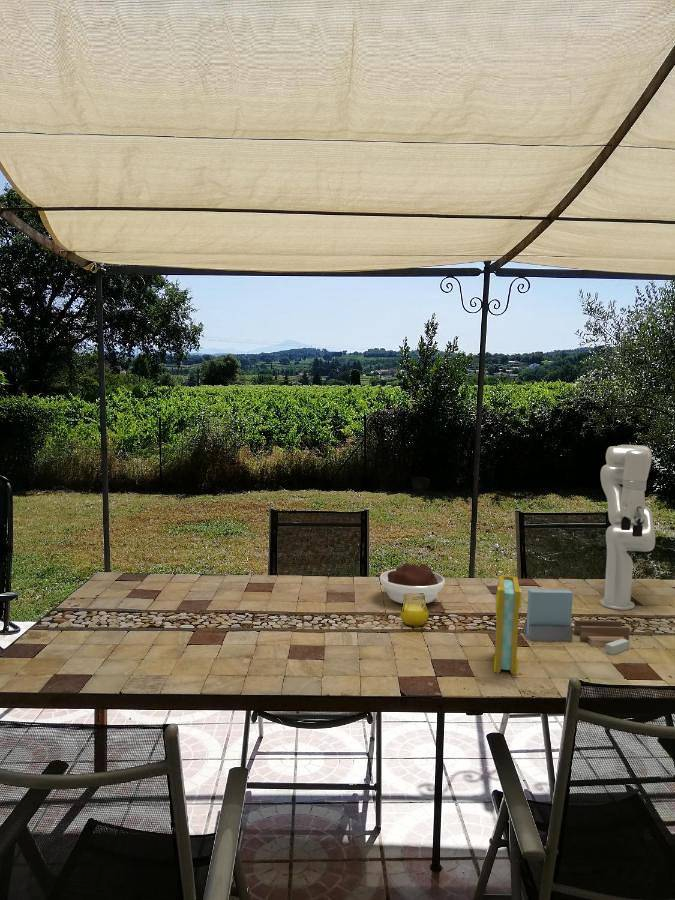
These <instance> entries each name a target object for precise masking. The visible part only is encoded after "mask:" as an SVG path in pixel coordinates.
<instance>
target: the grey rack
mask: <svg viewBox="0 0 675 900" xmlns="http://www.w3.org/2000/svg"><path fill="white" fill-rule="evenodd" d="M526 626H527V618H525V619H524V631H523V632H524V635H526ZM573 633H574V626H572V625H571V626H548V625H530V634H529V639H528V640H529V641H530V642H532V640H533V642H569V643H570V642H573Z"/></svg>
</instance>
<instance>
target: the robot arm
mask: <svg viewBox="0 0 675 900" xmlns="http://www.w3.org/2000/svg"><path fill="white" fill-rule="evenodd" d="M652 459H653V455H652V451H651V449H650V447H648V446H646V445H636V444H635V445H633V444H620V445H617V446H616V445H614V446H613V445H612V446H609V447H608V448H607V449H606V452H605V461H606V464H604V465H603V466H602V467H601V469H600V482H601V488H602V489H603V492H604V494H605V497H606V500H607V513H608V514H607V515H608V521H609V523H610V525H609V526H608V527H607V529H606V530H605V541H606V543H605V544H606V565H605V579H604V580H605V581H604V582H605V583H604V593H603V594H604V595H603V596H604V597H602V598H600V599H599V604H600V605H601V606H603V607H605V608H607V609H613V610H620V611H625V610H626V611H630V610H633V609H634V608H635V605H636V604H635V603H634V602H633V601H631V600H632V599H631V598H632V585H633V571H634V569H633V568H634V563H633V559H632V557H631V556H630V555H629V553H627V552H628V551H633V552H651V551H653V550H654V549H655V546H656V536H655V534H656V533H655V526H654V525H655V524H654V517H653V512H652V509H651V508H650V506H647V505H646V504H645V503H646V502H645V501H646V500H645V499H646V497H645V491H646V490H647V480H648V478H649V473H650V470H651V466H652V462H653V461H652ZM621 485H622V486H621Z"/></svg>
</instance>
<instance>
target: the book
mask: <svg viewBox="0 0 675 900" xmlns="http://www.w3.org/2000/svg"><path fill="white" fill-rule="evenodd" d="M519 584H520V583H519V579H518V577H517V576H513V575H505V574H503V575H499V576H498V584H497V592H496V595H495V619H496V621H495V623H496V624H495V626H496V627H495V641H494V642H495V643H494V644H495V645H494V657H493V658H494V659H493V661H494V662H493V673H495V672H501V670H506V671H510V672H511V673H514V674H517V675H518V666H519V657H517V653H518V639H519V638H518V637H519V635H518V633H519V618H520V617H519V616H520V615H519V614H520V609H521V607H522V588H520V585H519ZM514 674H513V675H514Z"/></svg>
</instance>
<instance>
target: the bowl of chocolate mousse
mask: <svg viewBox="0 0 675 900" xmlns="http://www.w3.org/2000/svg"><path fill="white" fill-rule="evenodd" d="M379 582H380V584H381V585H382V587H383V588H384V590H385V591H386V593H387V596H388V598H389V599H391V600H392V601H393V602H396V603H398V604H402V603H403V595H404V594H406V593H424V595H425V600H426V603H427V604H429V603H430V604H431V603H432V602H434V600H435V598H436V597H437V595H438V594H439V592H440V591H441V590H442V589H443V588H444V586H445V585H446V584H445V582H446V580H445V578H444V576H442V575H441V574H439V573H437V572H434V571H432V569H431V568H430V566H428V564H425V563H423V564H420V565H418V564H417V565H416V564H411V563H409V562H405V563H403V564H401V566H397V567H396V568H395V569H391V570H386V571H384V572H382V573H381V574H380V576H379Z"/></svg>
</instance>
